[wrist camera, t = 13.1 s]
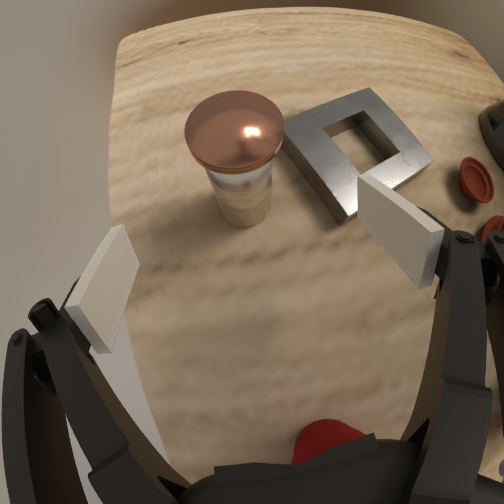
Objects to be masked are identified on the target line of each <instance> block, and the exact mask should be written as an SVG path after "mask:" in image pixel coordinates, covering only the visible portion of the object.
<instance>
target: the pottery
mask: <svg viewBox="0 0 504 504" xmlns="http://www.w3.org/2000/svg"><path fill="white" fill-rule="evenodd" d="M459 186H460V189H461V191H462V193H463V194H464V195H465V196H466V197H468V198H472V199H474V200H476V201H478V202H481V203H488V202H490V201H491V200H492V199H493V196H494V186H493V182H492V179H491V176H490V174H489V172H488V171H487V169H486V168H485V167H484V165H483V164H482V163H481V162H479V161H478V160H477V159H475V158H472V157H466V158H464V159H463V161H462V163H461V166H460V180H459ZM490 231H500V232H502V233H504V217H503V216H494V217H492V218H490V219H489V220H488V221H487V223H486V224H485V226H484V229H483V232H482V236H481V241H486V239H487V235H488V232H490ZM499 281H500V279H499Z"/></svg>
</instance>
